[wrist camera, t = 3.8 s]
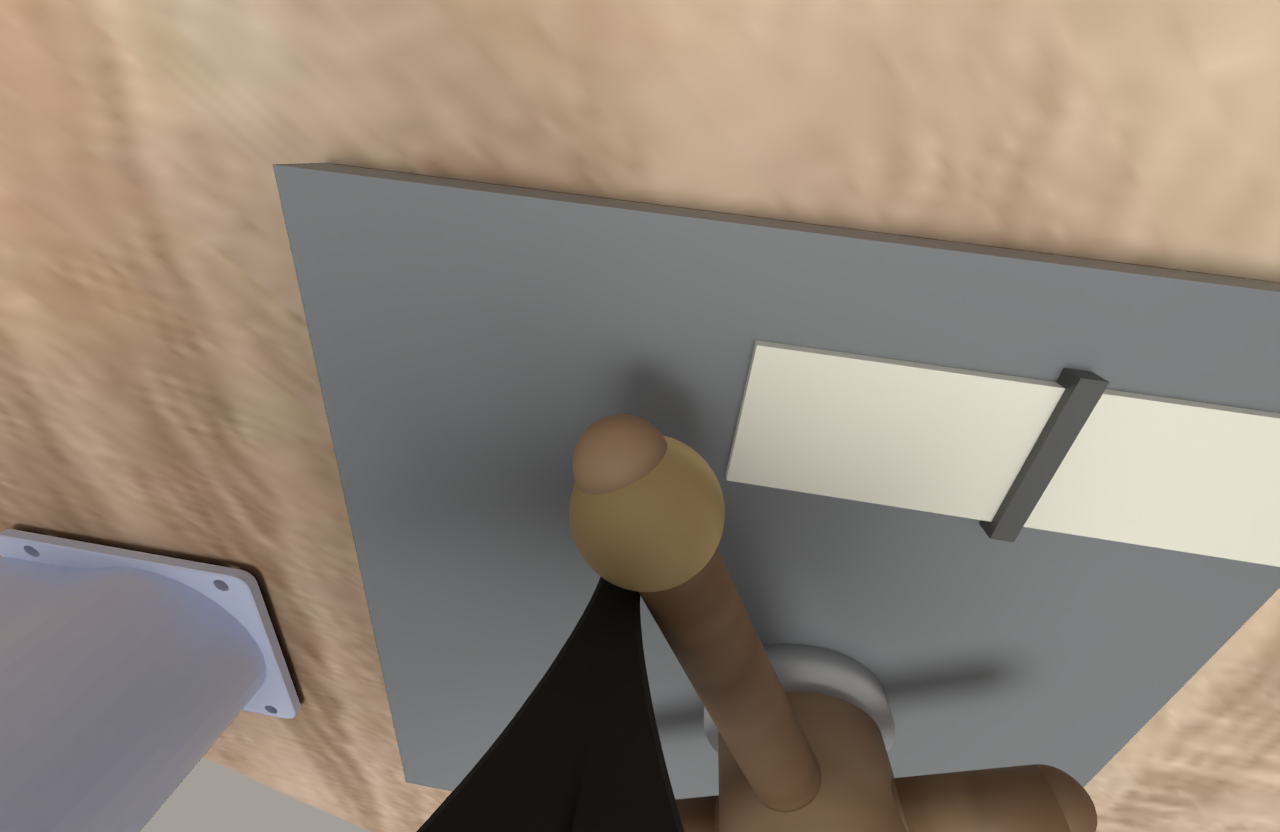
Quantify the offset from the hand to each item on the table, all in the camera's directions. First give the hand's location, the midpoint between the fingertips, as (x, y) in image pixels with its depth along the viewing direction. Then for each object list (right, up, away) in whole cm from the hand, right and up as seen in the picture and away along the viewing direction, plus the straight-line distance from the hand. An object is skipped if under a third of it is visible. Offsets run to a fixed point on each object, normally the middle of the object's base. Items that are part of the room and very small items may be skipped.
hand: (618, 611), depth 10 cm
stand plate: (+3, -2, +6) cm, 7 cm away
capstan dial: (+4, -3, +3) cm, 6 cm away
